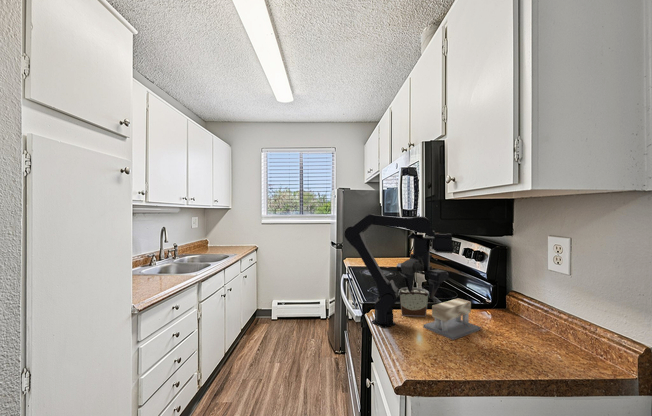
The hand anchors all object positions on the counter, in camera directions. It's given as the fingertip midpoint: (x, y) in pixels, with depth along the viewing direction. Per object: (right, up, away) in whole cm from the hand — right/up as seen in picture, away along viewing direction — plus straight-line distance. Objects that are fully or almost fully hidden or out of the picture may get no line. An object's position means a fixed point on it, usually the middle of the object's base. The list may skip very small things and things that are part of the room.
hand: (420, 295), depth 107 cm
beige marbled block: (+11, -7, 0) cm, 13 cm away
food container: (+2, -12, +15) cm, 20 cm away
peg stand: (+11, -12, 0) cm, 17 cm away
